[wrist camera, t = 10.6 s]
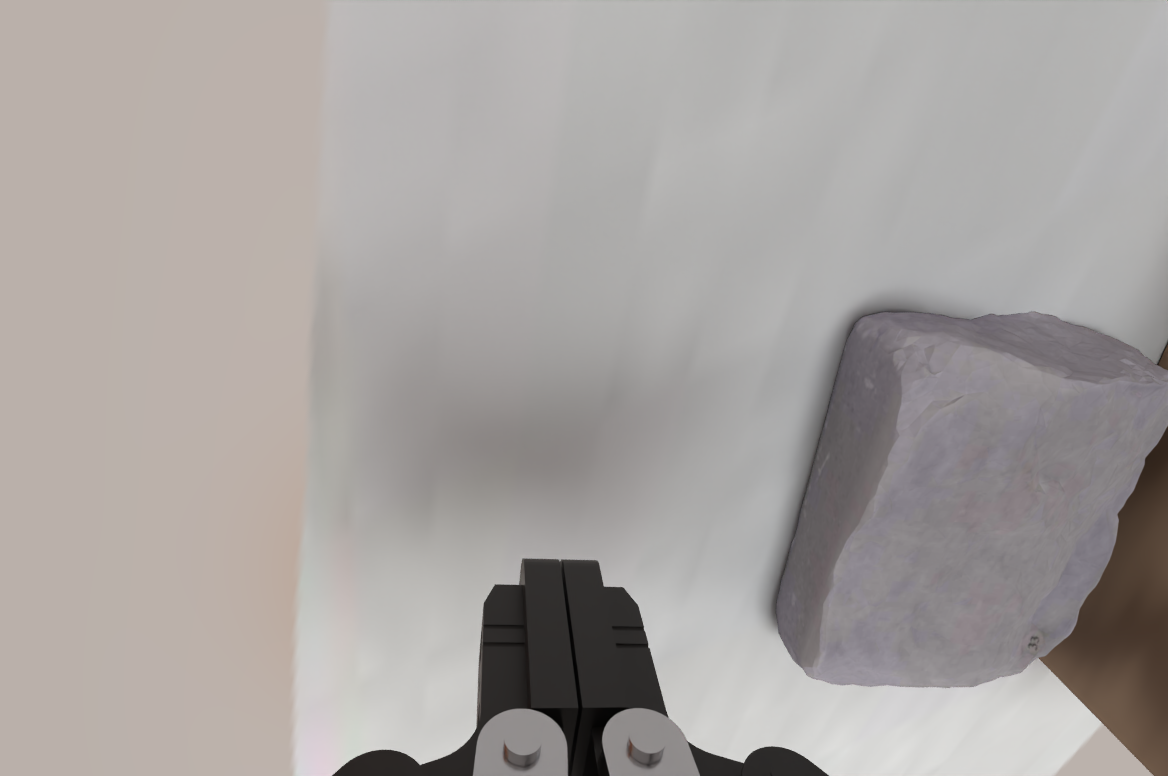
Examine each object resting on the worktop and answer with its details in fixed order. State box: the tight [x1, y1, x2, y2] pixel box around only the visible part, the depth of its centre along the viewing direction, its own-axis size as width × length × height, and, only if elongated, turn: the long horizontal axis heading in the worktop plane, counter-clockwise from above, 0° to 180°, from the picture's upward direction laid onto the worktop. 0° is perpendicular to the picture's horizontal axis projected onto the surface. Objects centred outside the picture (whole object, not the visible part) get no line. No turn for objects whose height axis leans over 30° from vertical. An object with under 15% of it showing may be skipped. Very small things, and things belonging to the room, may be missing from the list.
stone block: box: [776, 312, 1168, 688], centre depth 21 cm, size 12×5×10 cm
